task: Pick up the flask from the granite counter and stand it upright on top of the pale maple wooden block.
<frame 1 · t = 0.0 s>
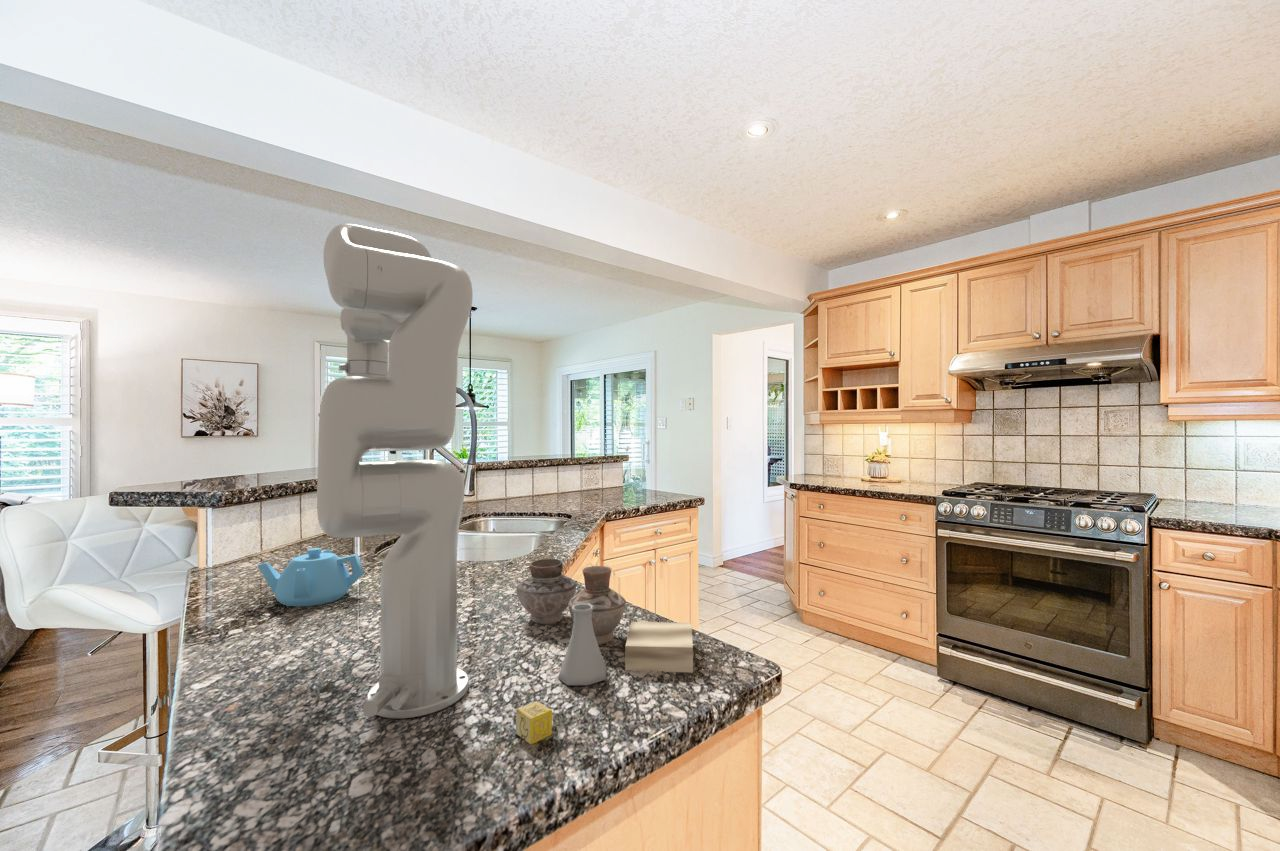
hand: (367, 454, 107), 31 cm above the worktop, tool pointing down, fingers open, 9 cm apart
flask: (582, 677, 75), on the worktop
teapot: (312, 599, 112), on the worktop
alphabet block: (534, 736, 61), on the worktop
pottery: (569, 628, 94), on the worktop
maple block: (660, 659, 81), on the worktop
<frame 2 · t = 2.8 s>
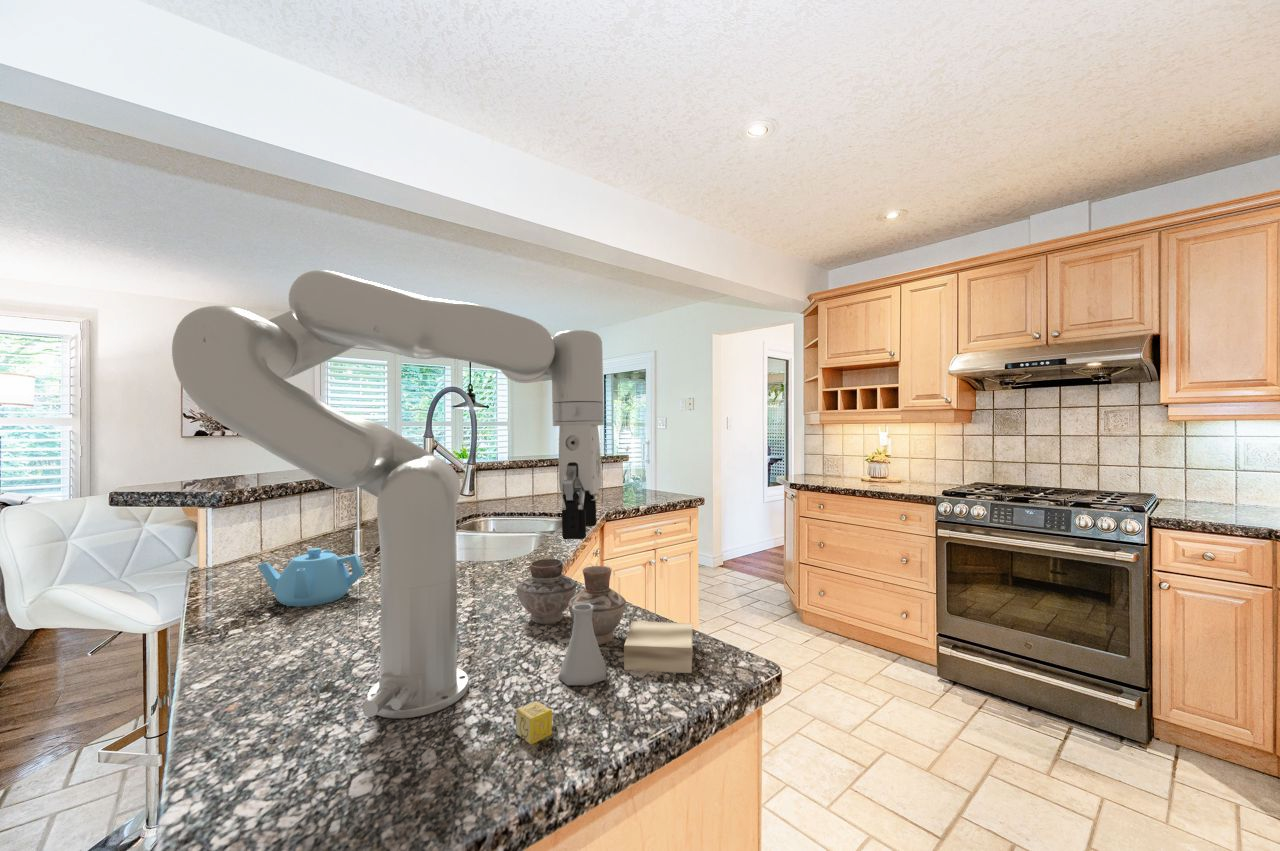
hand: (580, 531, 76), 21 cm above the worktop, tool pointing down, fingers open, 9 cm apart
nothing on the worktop moved.
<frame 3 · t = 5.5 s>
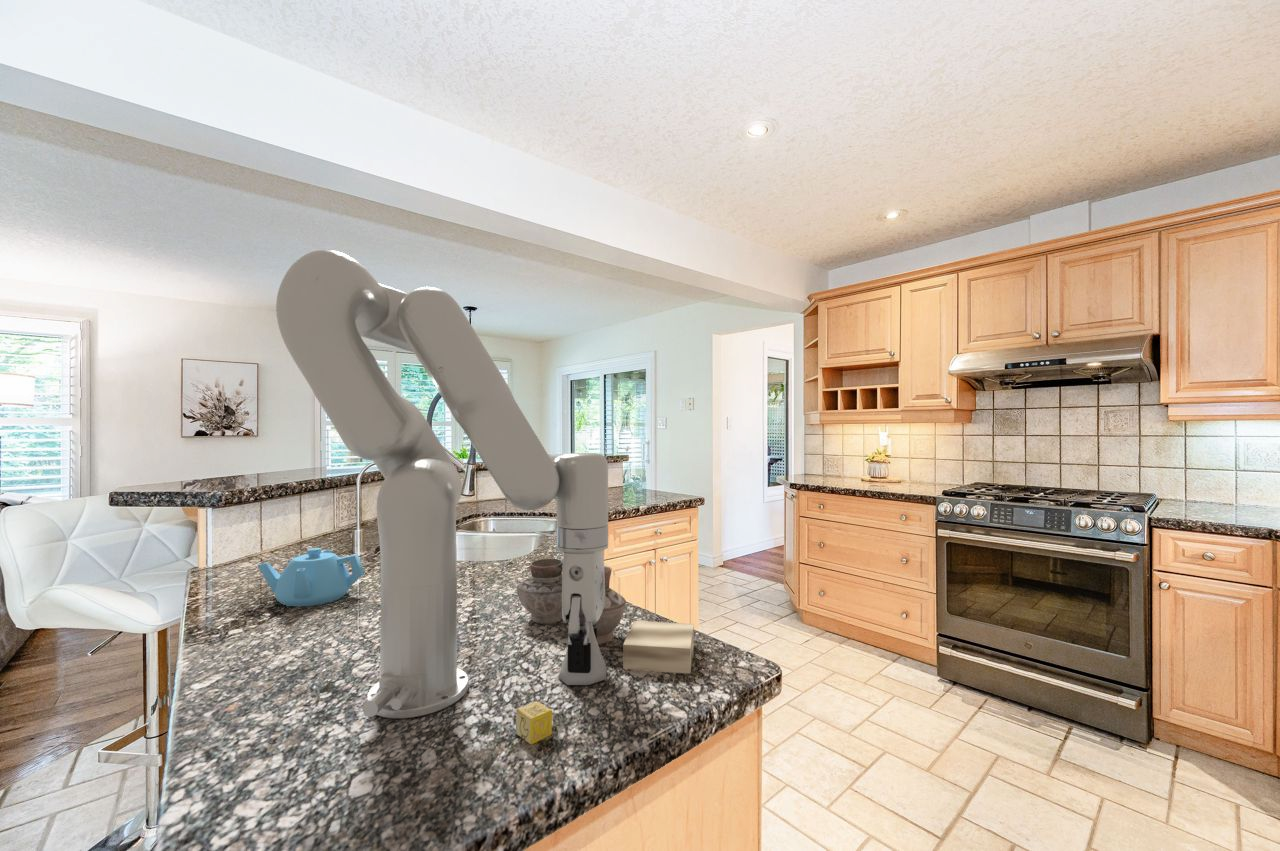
hand: (582, 661, 75), 2 cm above the worktop, tool pointing down, fingers closed on flask, 4 cm apart
flask: (582, 676, 75), on the worktop, touching gripper
everything else where it was.
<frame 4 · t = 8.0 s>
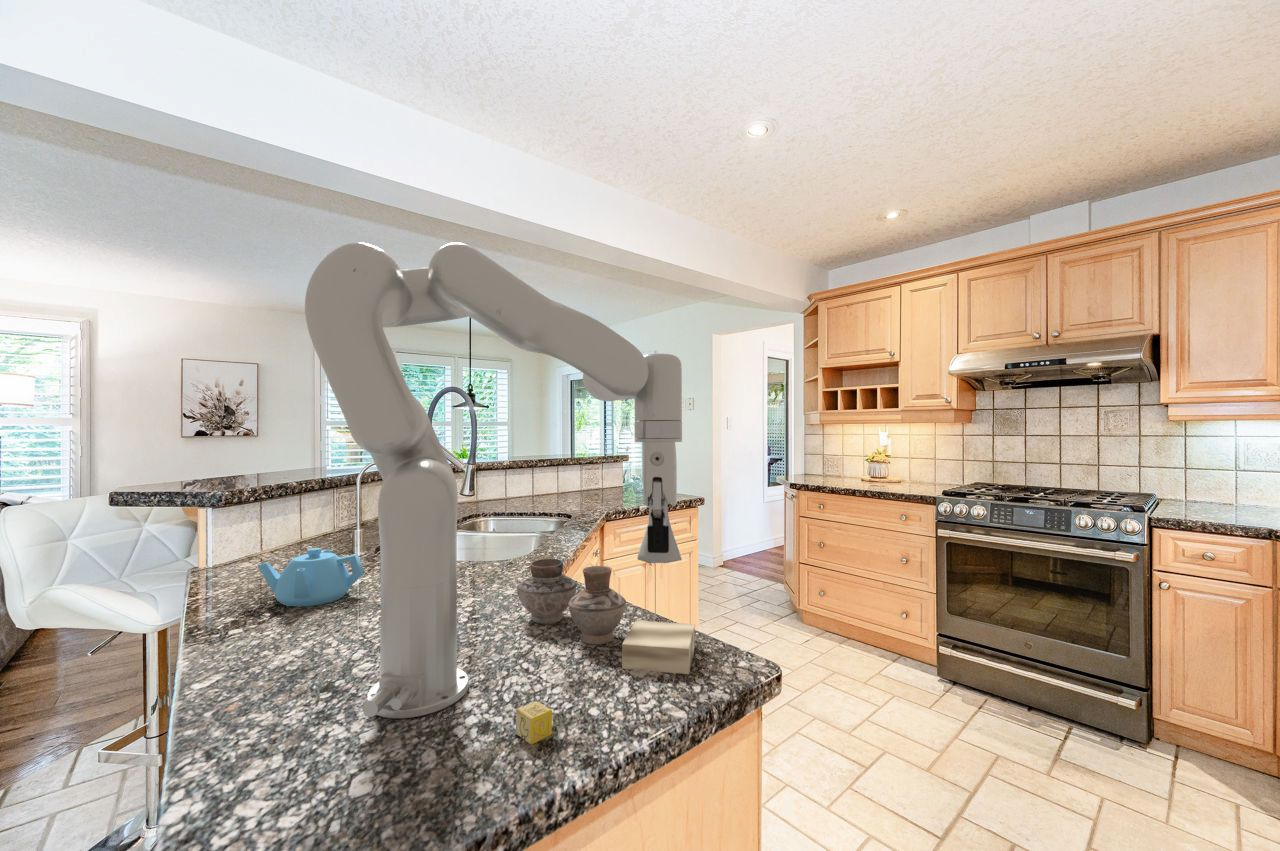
hand: (659, 547, 82), 17 cm above the worktop, tool pointing down, fingers closed on flask, 4 cm apart
flask: (659, 560, 82), point 15 cm above the worktop, touching gripper
everything else where it was.
when the fingers open (7 cm above the worktop, at t = 10.6 s): flask drops 1 cm, resting on maple block.
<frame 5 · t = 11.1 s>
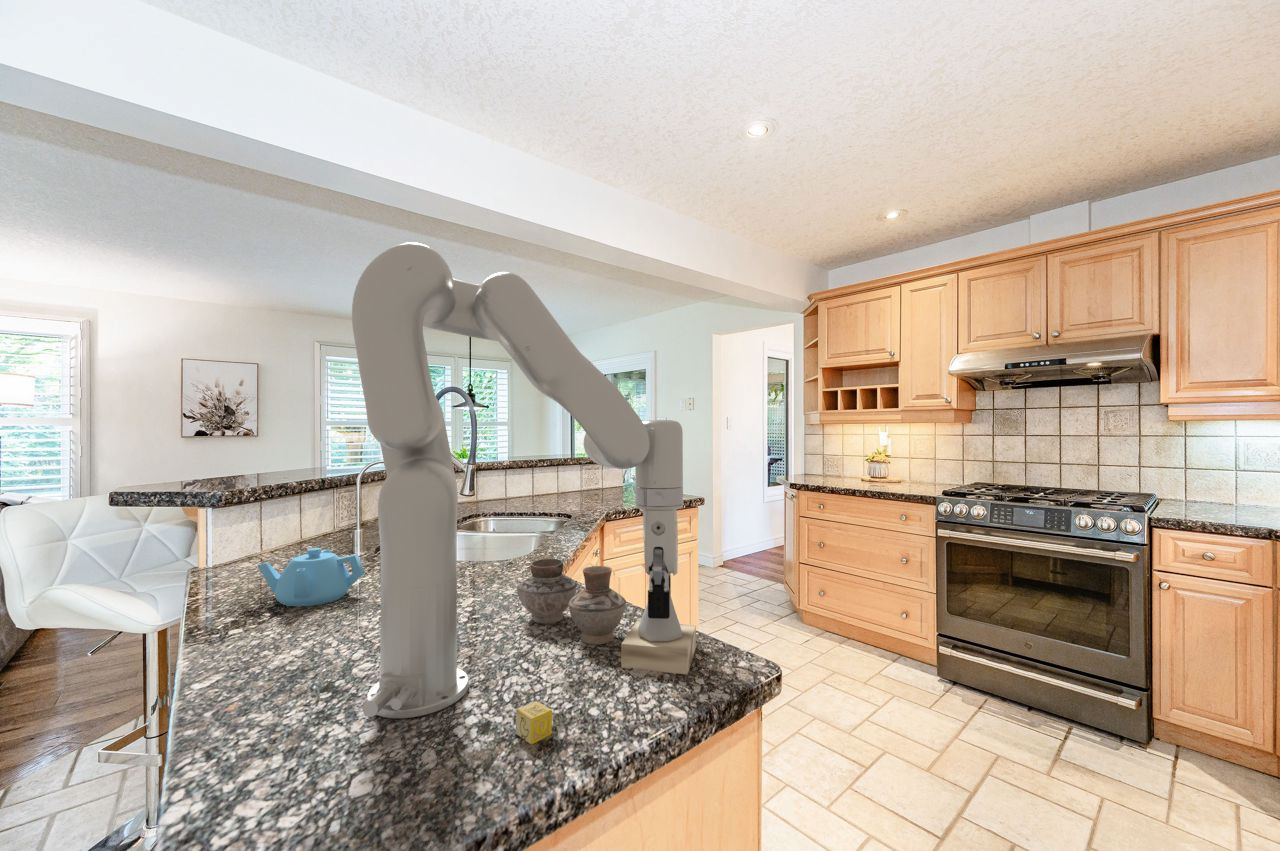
hand: (659, 606, 82), 8 cm above the worktop, tool pointing down, fingers open, 9 cm apart
flask: (660, 635, 81), point 3 cm above the worktop, touching maple block
maple block: (660, 659, 82), on the worktop, touching flask
everything else where it was.
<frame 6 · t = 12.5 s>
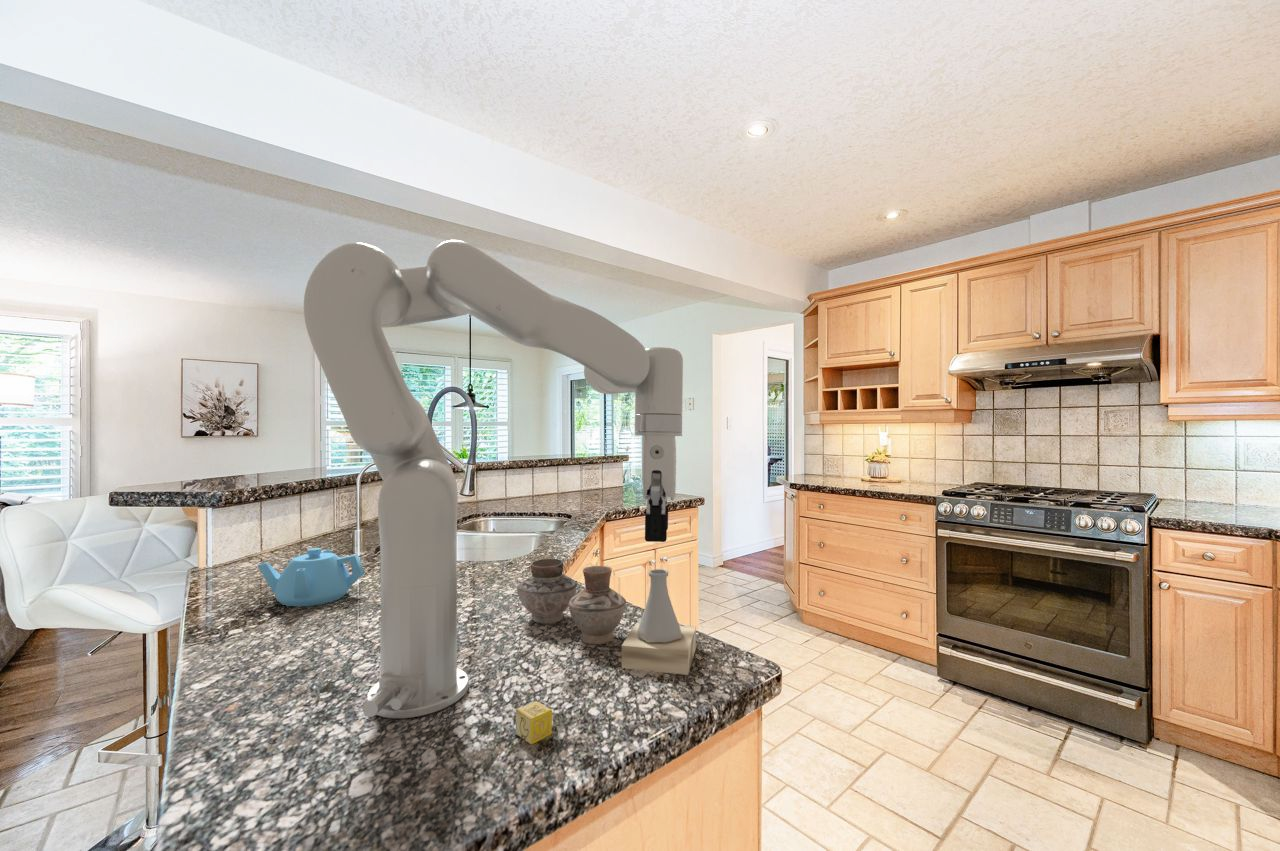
hand: (657, 535, 82), 19 cm above the worktop, tool pointing down, fingers open, 9 cm apart
flask: (659, 636, 81), point 3 cm above the worktop
maple block: (660, 661, 81), on the worktop
everything else where it was.
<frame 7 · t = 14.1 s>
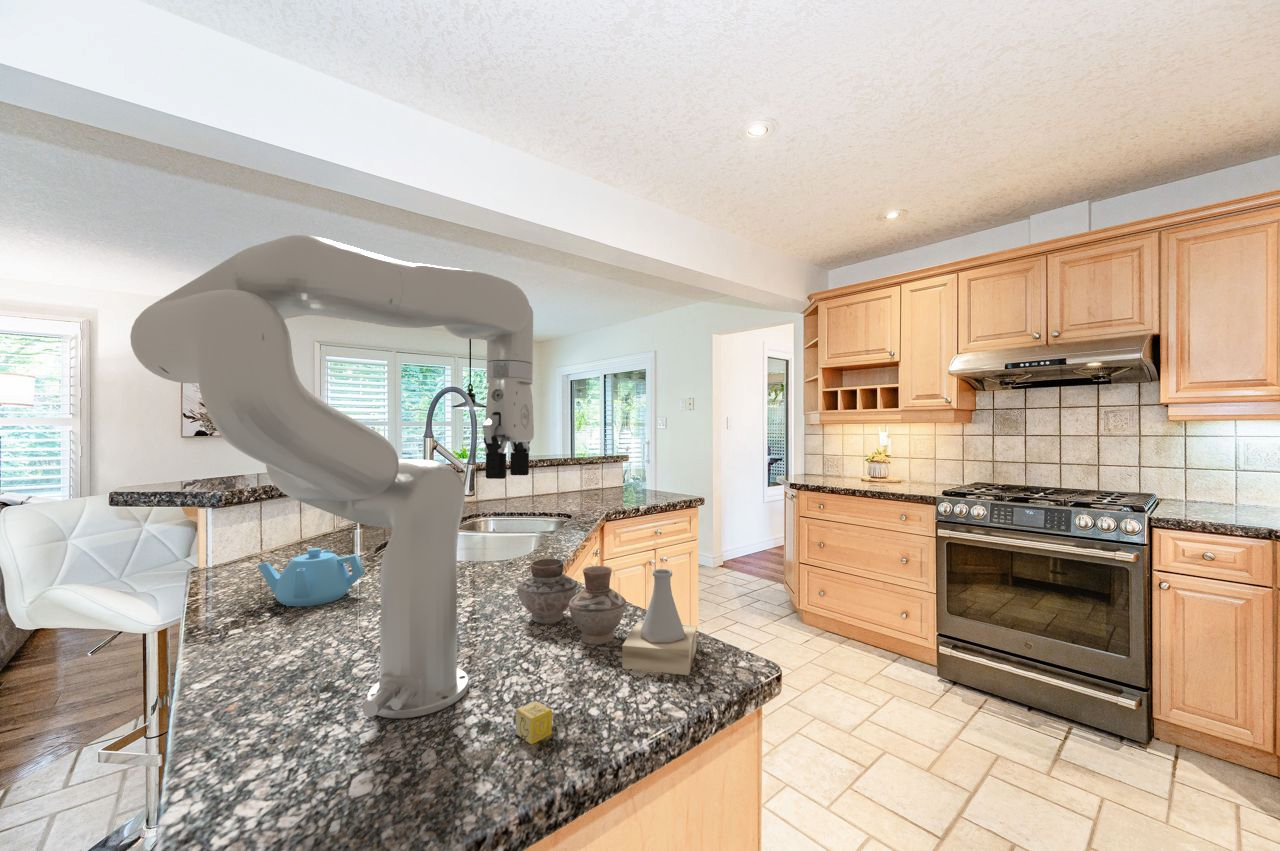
hand: (508, 476, 87), 28 cm above the worktop, tool pointing down, fingers open, 9 cm apart
flask: (662, 636, 81), point 3 cm above the worktop, touching maple block
maple block: (661, 661, 81), on the worktop, touching flask
everything else where it was.
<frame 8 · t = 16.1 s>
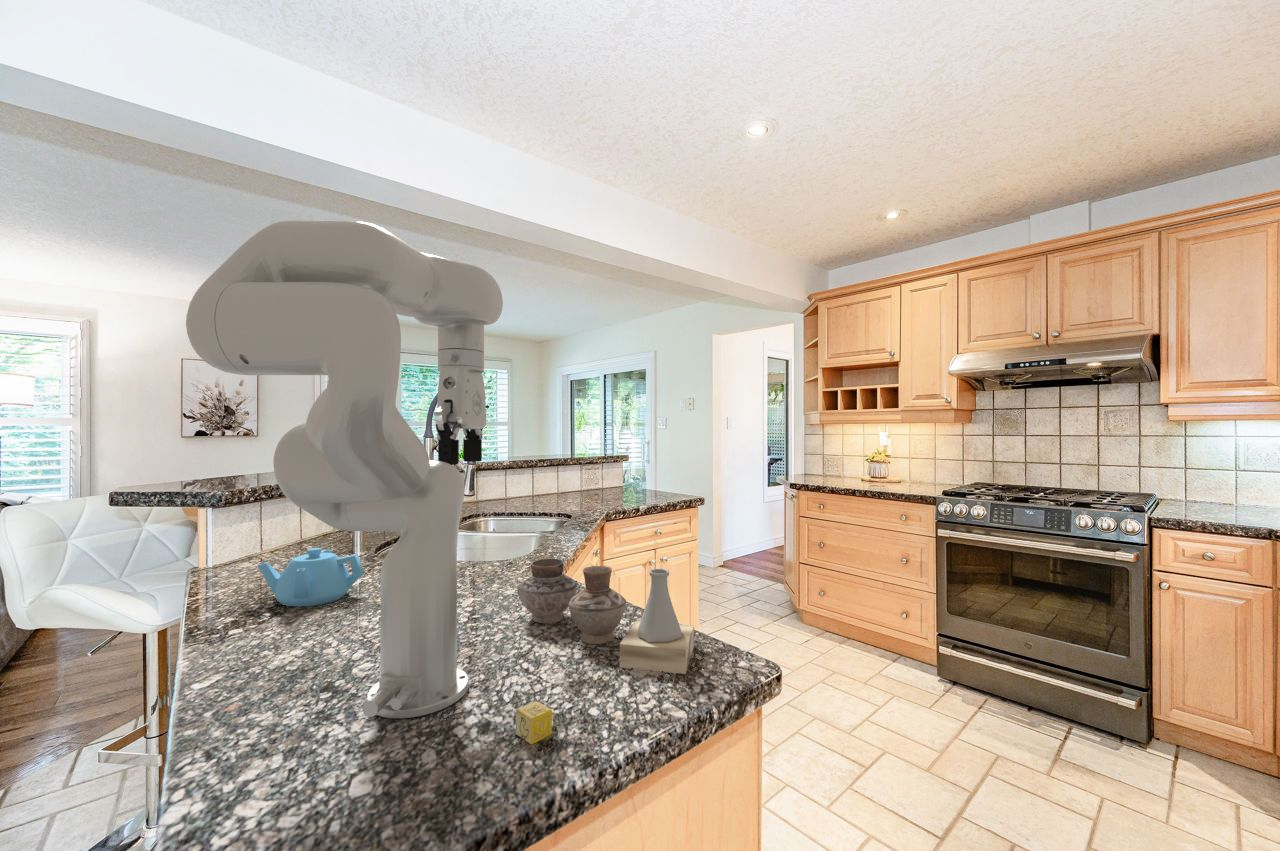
hand: (461, 462, 89), 30 cm above the worktop, tool pointing down, fingers open, 9 cm apart
nothing on the worktop moved.
at the end: flask 0.3 cm off-centre on the maple block, point 3.8 cm above the maple block's base; flask tilted 0°; the gripper is holding nothing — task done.
